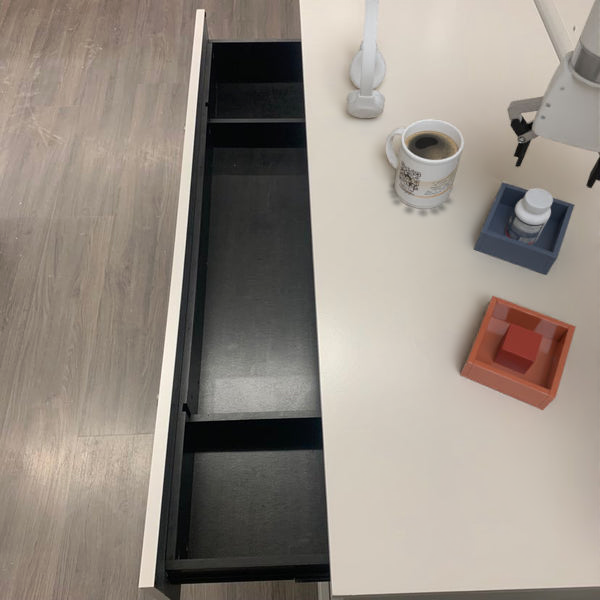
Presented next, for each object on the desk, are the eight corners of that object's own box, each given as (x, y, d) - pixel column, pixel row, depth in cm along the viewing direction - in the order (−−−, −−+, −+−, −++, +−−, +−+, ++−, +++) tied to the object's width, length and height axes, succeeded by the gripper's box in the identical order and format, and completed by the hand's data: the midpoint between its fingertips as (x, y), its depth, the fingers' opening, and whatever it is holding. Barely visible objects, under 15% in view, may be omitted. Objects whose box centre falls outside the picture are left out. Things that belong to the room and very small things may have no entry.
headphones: (384, 73, 110) (394, -27, 93) (382, 134, 101) (393, 35, 84) (350, 72, 111) (354, -27, 94) (344, 133, 101) (347, 34, 84)
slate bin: (563, 223, 88) (574, 204, 84) (546, 275, 83) (557, 258, 79) (494, 200, 91) (502, 181, 87) (473, 249, 86) (480, 232, 82)
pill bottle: (516, 217, 88) (534, 178, 81) (544, 234, 86) (564, 196, 79) (497, 235, 86) (514, 198, 79) (525, 253, 84) (545, 216, 77)
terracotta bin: (563, 341, 77) (575, 326, 73) (542, 410, 72) (555, 398, 68) (484, 311, 80) (492, 295, 76) (459, 375, 75) (467, 361, 71)
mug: (397, 213, 91) (406, 166, 81) (381, 164, 97) (387, 114, 87) (457, 204, 91) (472, 156, 82) (437, 155, 97) (449, 105, 88)
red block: (532, 349, 76) (543, 335, 72) (524, 374, 74) (534, 361, 70) (502, 337, 77) (511, 322, 73) (493, 362, 75) (501, 348, 71)
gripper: (697, 57, 59) (625, 171, 73) (538, 23, 63) (500, 136, 78) (689, 97, 55) (615, 208, 70) (522, 58, 60) (485, 170, 74)
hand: (554, 170), depth 74 cm, fingers open, 9 cm apart
